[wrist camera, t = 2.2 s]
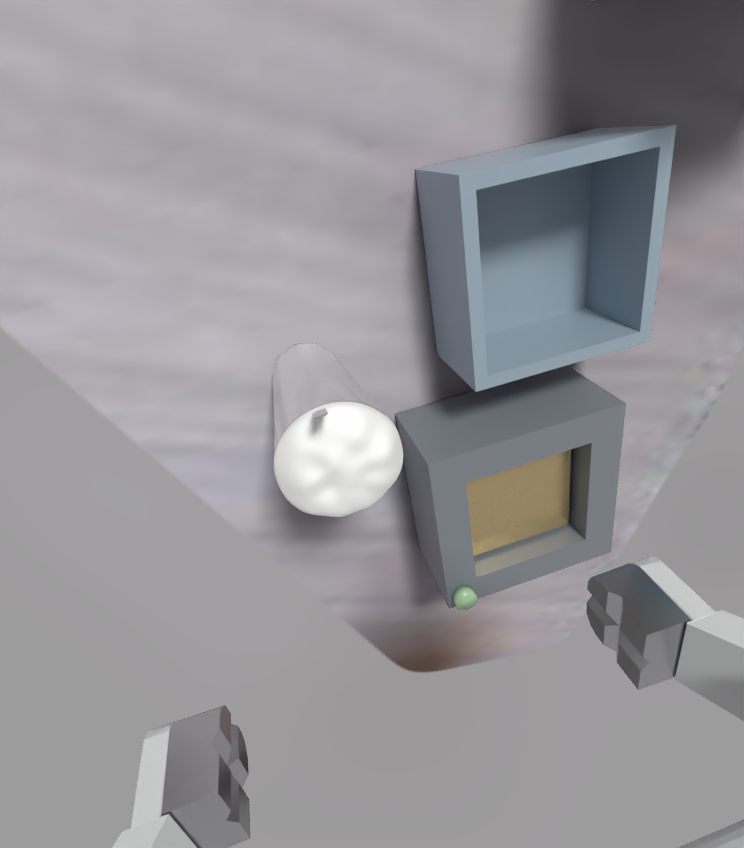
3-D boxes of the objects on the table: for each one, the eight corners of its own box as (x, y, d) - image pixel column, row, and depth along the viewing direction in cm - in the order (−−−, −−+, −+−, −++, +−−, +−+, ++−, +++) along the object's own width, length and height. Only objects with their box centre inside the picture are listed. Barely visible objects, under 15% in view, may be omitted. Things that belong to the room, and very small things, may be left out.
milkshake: (330, 297, 23) (394, 387, 14) (363, 395, 26) (433, 518, 17) (236, 332, 23) (245, 445, 14) (279, 428, 25) (309, 569, 17)
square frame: (395, 413, 27) (432, 471, 22) (564, 364, 28) (634, 409, 23) (419, 547, 32) (453, 617, 27) (561, 500, 33) (617, 559, 28)
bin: (415, 169, 21) (458, 175, 17) (597, 128, 22) (676, 124, 18) (437, 354, 26) (475, 391, 22) (588, 312, 27) (650, 340, 23)
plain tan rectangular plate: (455, 463, 25) (462, 471, 25) (562, 429, 26) (571, 437, 26) (465, 546, 29) (471, 556, 28) (560, 515, 29) (568, 523, 29)
